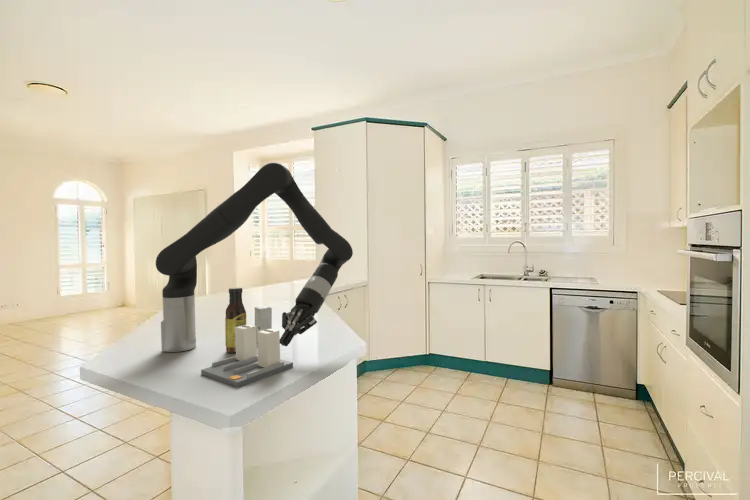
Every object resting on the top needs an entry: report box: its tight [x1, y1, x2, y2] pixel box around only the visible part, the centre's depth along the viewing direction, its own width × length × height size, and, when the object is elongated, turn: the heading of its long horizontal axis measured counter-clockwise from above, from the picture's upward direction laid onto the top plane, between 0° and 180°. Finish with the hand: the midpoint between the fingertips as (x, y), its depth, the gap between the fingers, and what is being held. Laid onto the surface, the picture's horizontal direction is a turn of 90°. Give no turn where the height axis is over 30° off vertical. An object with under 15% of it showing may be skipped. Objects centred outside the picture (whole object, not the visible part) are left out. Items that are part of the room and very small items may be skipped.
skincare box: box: [254, 305, 273, 344], centre depth 127 cm, size 6×4×12 cm
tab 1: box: [235, 324, 258, 361], centre depth 103 cm, size 4×4×9 cm
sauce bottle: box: [224, 287, 247, 354], centre depth 117 cm, size 7×6×20 cm
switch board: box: [200, 352, 294, 388], centre depth 98 cm, size 17×16×2 cm
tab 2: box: [257, 328, 281, 368], centre depth 97 cm, size 4×4×9 cm
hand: (282, 344), depth 101 cm, fingers closed
